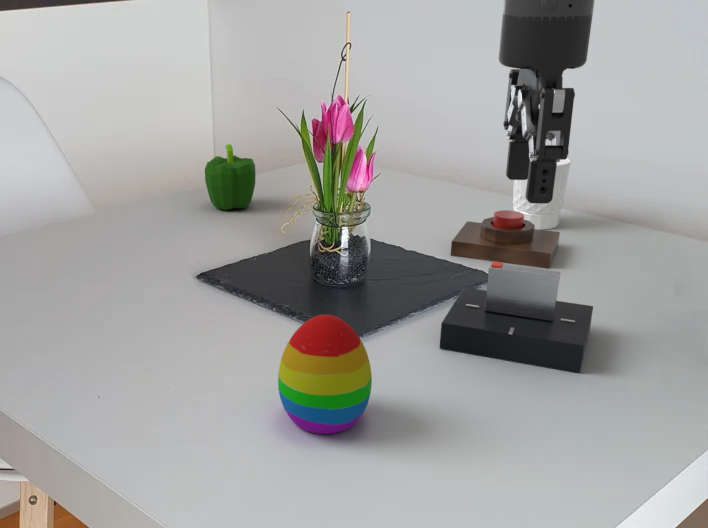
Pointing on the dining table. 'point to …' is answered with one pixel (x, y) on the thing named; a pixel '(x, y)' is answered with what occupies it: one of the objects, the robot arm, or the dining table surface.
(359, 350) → the decorative egg
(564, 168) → the white cup
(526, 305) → the grey rectangular box
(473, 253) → the button block
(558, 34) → the robot arm
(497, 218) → the button
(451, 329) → the card holder base
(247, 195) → the bell pepper
